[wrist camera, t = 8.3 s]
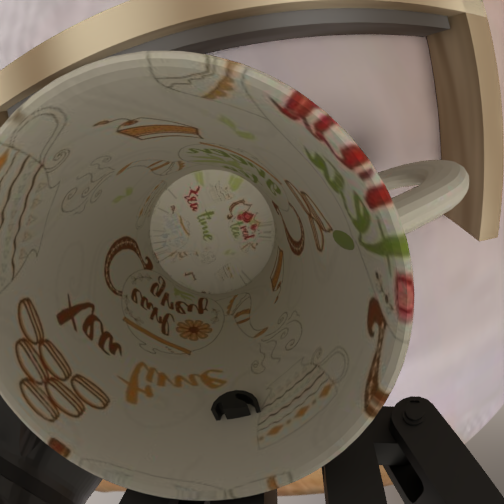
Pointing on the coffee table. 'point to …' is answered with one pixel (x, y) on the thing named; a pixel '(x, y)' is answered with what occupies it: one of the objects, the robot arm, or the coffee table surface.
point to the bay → (307, 25)
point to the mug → (200, 273)
